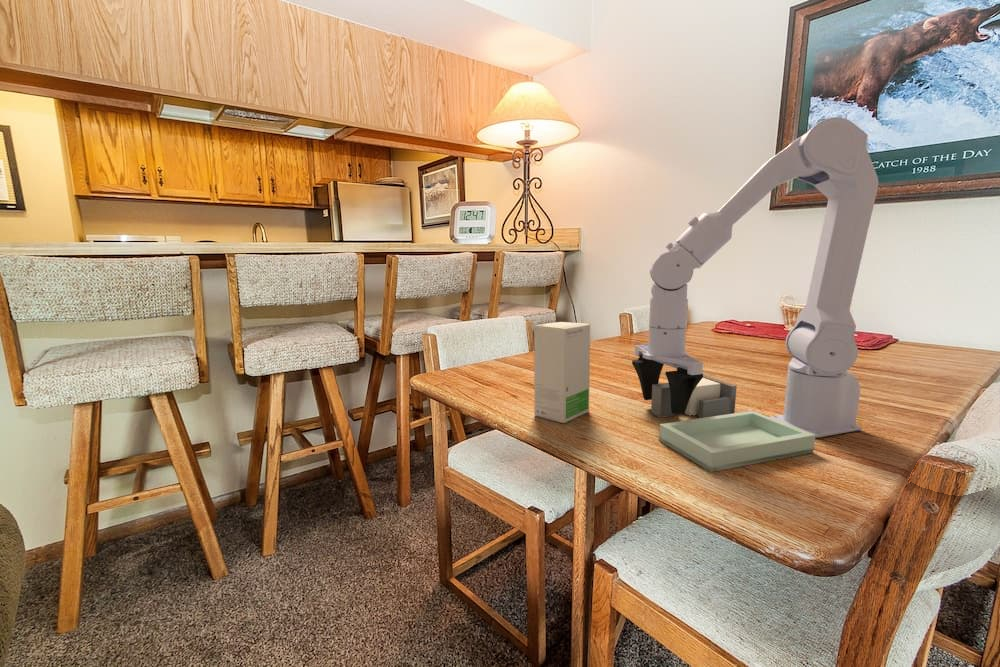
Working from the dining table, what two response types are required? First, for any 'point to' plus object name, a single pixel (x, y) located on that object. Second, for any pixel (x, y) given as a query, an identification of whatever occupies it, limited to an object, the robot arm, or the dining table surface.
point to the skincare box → (561, 370)
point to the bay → (718, 401)
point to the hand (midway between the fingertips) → (663, 405)
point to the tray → (735, 440)
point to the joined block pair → (701, 391)
